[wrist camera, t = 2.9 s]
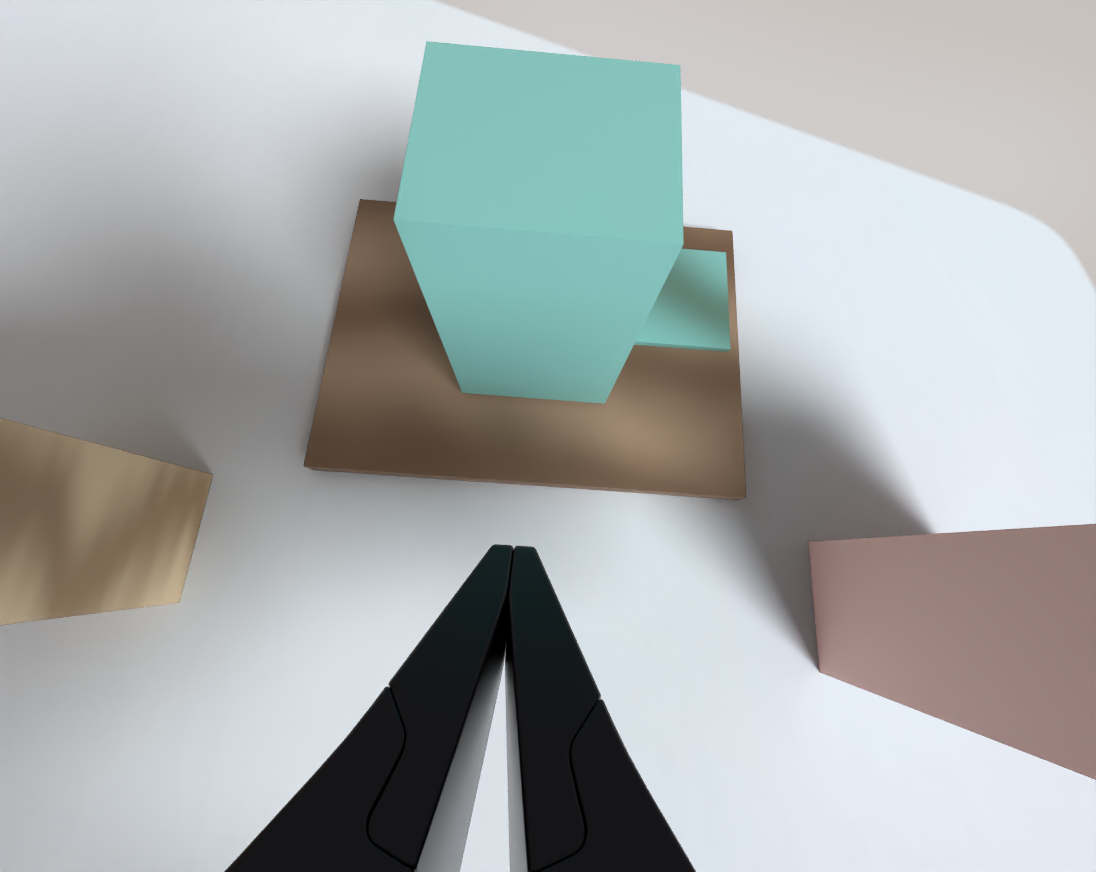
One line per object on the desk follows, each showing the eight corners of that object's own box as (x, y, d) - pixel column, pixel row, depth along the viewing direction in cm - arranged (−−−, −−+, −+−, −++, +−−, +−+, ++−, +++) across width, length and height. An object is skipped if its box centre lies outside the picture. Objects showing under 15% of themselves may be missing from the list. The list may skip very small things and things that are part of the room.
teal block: (604, 403, 19) (683, 244, 9) (462, 392, 19) (393, 219, 9) (608, 298, 20) (680, 65, 11) (474, 288, 20) (426, 41, 11)
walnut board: (737, 499, 19) (749, 496, 18) (312, 469, 19) (299, 464, 18) (725, 242, 23) (735, 226, 22) (366, 211, 22) (357, 194, 21)
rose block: (968, 681, 18) (1488, 826, 8) (819, 672, 18) (1169, 807, 8) (947, 551, 19) (1372, 543, 10) (808, 541, 19) (1096, 523, 9)
